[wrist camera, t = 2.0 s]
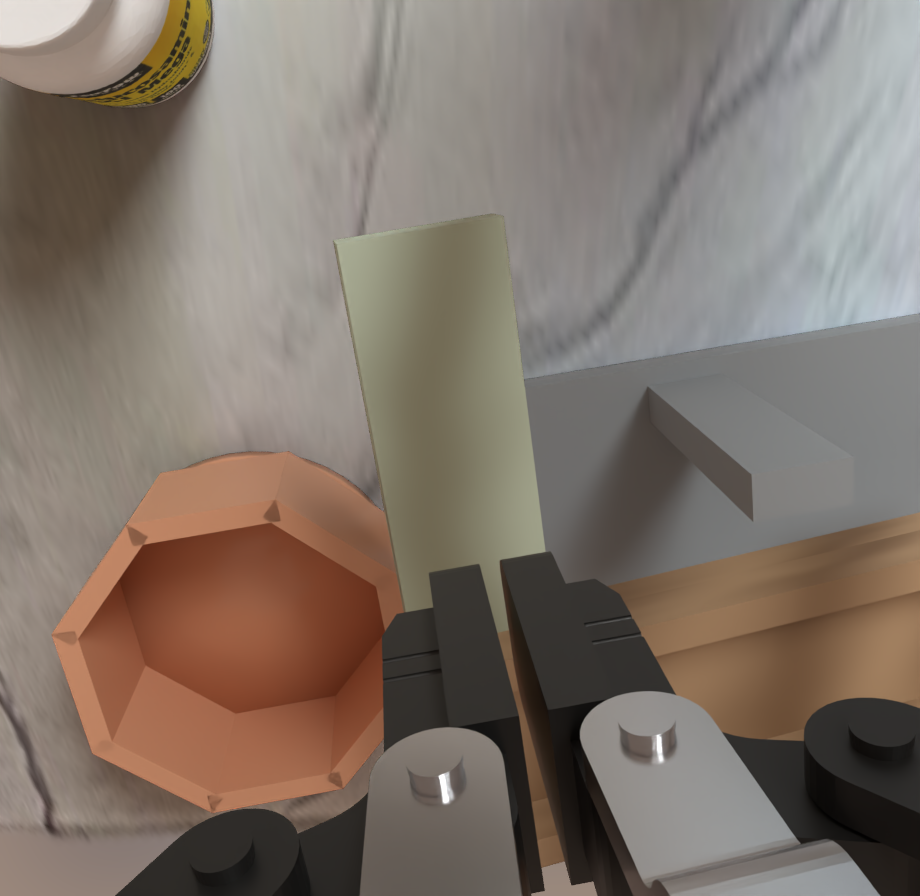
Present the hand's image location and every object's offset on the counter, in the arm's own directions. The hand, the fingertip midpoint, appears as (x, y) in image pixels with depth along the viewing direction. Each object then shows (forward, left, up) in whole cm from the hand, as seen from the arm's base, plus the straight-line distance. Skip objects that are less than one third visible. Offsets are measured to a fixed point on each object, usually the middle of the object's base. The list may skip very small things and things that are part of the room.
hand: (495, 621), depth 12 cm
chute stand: (+10, +10, -23) cm, 27 cm away
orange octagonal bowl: (+10, -8, -23) cm, 26 cm away
